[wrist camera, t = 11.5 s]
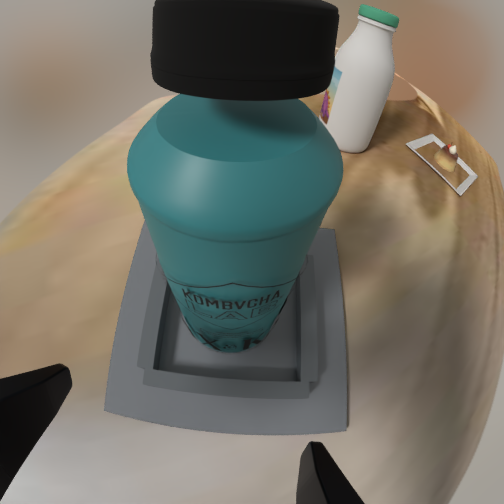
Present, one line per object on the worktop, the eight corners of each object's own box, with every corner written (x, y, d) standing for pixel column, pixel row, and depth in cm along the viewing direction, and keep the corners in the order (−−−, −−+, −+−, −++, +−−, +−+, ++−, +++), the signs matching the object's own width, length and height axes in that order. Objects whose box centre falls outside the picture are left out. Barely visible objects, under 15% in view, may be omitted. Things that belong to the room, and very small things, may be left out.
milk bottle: (375, 143, 35) (419, 25, 18) (352, 162, 32) (402, 19, 15) (332, 118, 38) (363, 3, 21) (305, 133, 35) (334, -4, 18)
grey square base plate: (343, 430, 17) (354, 432, 15) (106, 410, 16) (95, 410, 14) (332, 232, 26) (339, 219, 24) (147, 217, 25) (143, 204, 24)
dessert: (430, 137, 41) (439, 118, 37) (475, 180, 36) (487, 162, 32) (402, 148, 37) (414, 125, 33) (457, 200, 32) (473, 179, 28)
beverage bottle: (178, 291, 21) (100, 1, 4) (257, 270, 23) (307, -11, 6) (200, 370, 18) (13, 47, 1) (287, 344, 20) (471, 57, 3)
